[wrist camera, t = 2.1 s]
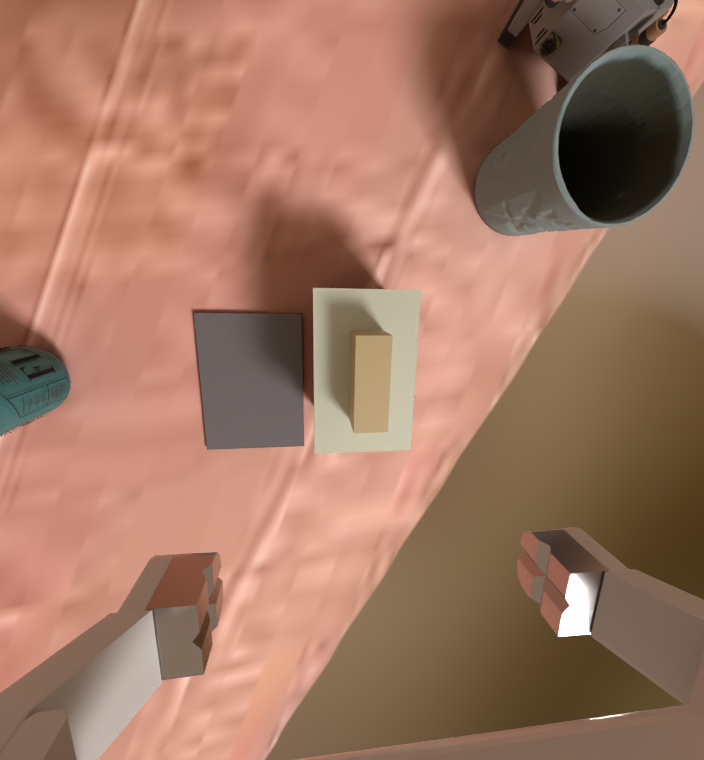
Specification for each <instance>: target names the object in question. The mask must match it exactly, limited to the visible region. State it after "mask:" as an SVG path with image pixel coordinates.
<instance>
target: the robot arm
mask: <svg viewBox="0 0 704 760" xmlns="http://www.w3.org/2000/svg"><path fill="white" fill-rule="evenodd" d="M520 545H521V546H522V548H523V549H524V552H523V554H522V555H521V556H520V557H519V559H518V566H517V571H518V576H519V580H520V583H521V585H522V587H523V589H524V590H525V592H526V593H527V595H528V596H529V597H530V598H531V599H533V600H535V601H536V602H538V603H539V604H540V612H541V614H542V615H543V616H544V618H545V619H546V620H547V622H548V623H549V625H550V626H551V627H552V629H553V630H554V631H555V632H556V634H557V635H558V636H568V635H569V636H570V635H584V634H591V636H592V637H593V638H594V639H596V640H597V641H599V642H600V643H601V644H602V645H604V646H605V647H606V648H608V649H609V650H610V651H612V652H613V653H615V654H616V655H617V656H619V657H620V658H622V659H623V660H624V661H626V662H627V663H628V664H630V665H631V666H632V667H634V668H635V669H636V670H638V671H639V672H640V673H642V674H643V675H645V676H646V677H647V678H649V679H650V680H651V681H653V682H654V683H655V684H657V685H658V686H659V687H661V688H662V689H663V690H665V691H666V692H667V693H669V694H670V695H672V696H673V697H675V698H676V699H677V700H678V701H680V702H681V703H682V704H684V705H682V706H674V707H667V708H660V709H654V710H647V711H639V712H632V713H625V714H618V715H610V716H604V717H596V718H589V719H582V720H576V721H568V722H561V723H554V724H547V725H540V726H534V727H526V728H519V729H513V730H505V731H498V732H490V733H484V734H476V735H469V736H462V737H454V738H447V739H440V740H433V741H426V742H418V743H411V744H404V745H397V746H389V747H383V748H375V749H368V750H361V751H353V752H346V753H340V754H332V755H325V756H318V757H311V758H304V759H297V760H704V600H702V599H700V598H698V597H695V596H693V595H691V594H689V593H687V592H684V591H682V590H680V589H677V588H675V587H673V586H671V585H668V584H666V583H664V582H662V581H660V580H657V579H655V578H653V577H651V576H649V575H646V574H644V573H642V572H639V571H637V570H635V569H632V570H629V569H628V568H627V567H625V566H624V565H623V564H622V563H621V562H620V561H618V560H617V559H616V558H615V557H614V556H612V555H611V554H610V553H609V552H608V551H607V550H605V549H604V548H603V547H602V546H600V545H599V544H598V543H597V542H596V541H594V539H592V538H591V537H590V536H589V535H587V534H586V533H585V532H584V531H583V530H581V529H579V528H576V527H574V528H563V529H558V530H545V531H531V532H525V533H524V534H523V536H522V538H521V544H520ZM220 568H221V560H220V554H219V553H218V552H214V553H191V554H177V555H155V556H154V557H153V558H151V559H150V560H149V562H148V564H147V565H146V567H145V568H144V570H143V572H142V573H141V575H140V577H139V578H138V580H137V581H136V583H135V585H134V586H133V588H132V590H131V591H130V593H129V595H128V596H127V598H126V599H125V601H124V603H123V604H122V606H121V608H120V609H119V611H118V612H117V613H111V614H109V615H107V616H106V617H105V618H103V619H102V620H101V621H99V622H98V623H96V624H95V625H94V626H92V627H91V628H90V629H88V630H87V631H85V632H84V633H83V634H81V635H80V636H78V637H77V638H76V639H74V640H73V641H72V642H70V643H69V644H67V645H66V646H65V647H63V648H62V649H61V650H59V651H58V652H56V653H55V654H54V655H52V656H51V657H50V658H48V659H47V660H45V661H44V662H43V663H41V664H40V665H38V666H37V667H36V668H34V669H33V670H32V671H30V672H29V673H27V674H26V675H25V676H23V677H22V678H21V679H19V680H18V681H16V682H15V683H14V684H12V685H11V686H9V687H8V688H7V689H5V690H4V691H3V692H1V693H0V760H98V758H99V757H100V756H101V755H102V754H103V753H104V751H105V750H106V749H107V748H108V747H109V745H110V744H111V743H112V742H113V741H114V739H115V738H116V737H117V736H118V735H119V734H120V732H121V731H122V730H123V729H124V728H125V726H126V725H127V724H128V723H129V722H130V720H131V719H132V718H133V717H134V716H135V714H136V713H137V712H138V711H139V710H140V709H141V707H142V706H143V705H144V704H145V703H146V701H147V700H148V699H149V698H150V697H151V695H152V694H153V693H154V692H155V691H156V690H157V688H158V687H159V686H160V685H161V684H162V680H167V679H174V678H182V677H189V676H196V675H203V674H204V672H205V669H206V665H207V662H208V658H209V655H210V651H211V648H212V631H213V630H214V629H215V628H216V627H217V626H218V623H219V619H220V615H221V609H222V602H223V583H222V581H221V579H220V578H219V577H218V575H219V571H220Z"/></svg>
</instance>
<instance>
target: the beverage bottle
mask: <svg viewBox="0 0 704 760" xmlns="http://www.w3.org/2000/svg"><path fill="white" fill-rule="evenodd" d="M24 346H26V345H24ZM7 348H8V349H7ZM69 391H70V377H69V374H68V371H67V369H66V367H65V366H64V365H63V363H62V362H61V361H60V360H59V359H58V358H57V357H56V356H54V355H53V354H51V353H49V352H47V351H45V350H42V349H39V348H35V347H31V346H30V347H21V346H19V347H13V348H10V347H9V346H8V347H5V348H1V349H0V436H1V437H2V435H3V434H4V433H6V432H10V430H13V429H14V428H16V427H18V426H20V425H22V426H23V425H24V424H25V423H27V422H29V421H30V422H31V420H32V421H33V420H34V419H35V418H37V417H39V416H41V415H42V416H43V414H45V413H47V412H50V411H52V410H53V409H55V408H57V407H58V406H60V405H61V404H62V403H63V401H64V400H65V399H66V398H67V396H68V394H69ZM49 414H50V413H49ZM46 415H48V414H46ZM42 416H41V417H42ZM43 417H44V416H43ZM34 421H35V420H34ZM27 424H28V423H27ZM13 431H14V430H13ZM6 435H7V433H6ZM4 436H5V435H4Z"/></svg>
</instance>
